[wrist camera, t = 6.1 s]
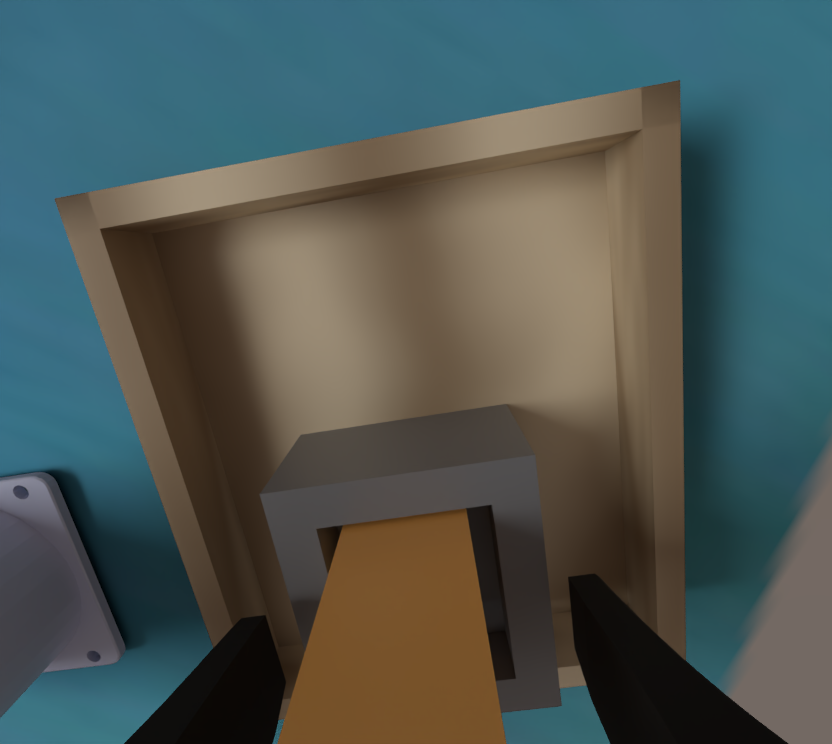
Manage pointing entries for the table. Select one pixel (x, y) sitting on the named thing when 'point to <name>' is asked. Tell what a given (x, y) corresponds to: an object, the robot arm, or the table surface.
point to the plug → (398, 641)
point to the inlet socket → (421, 494)
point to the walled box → (412, 333)
